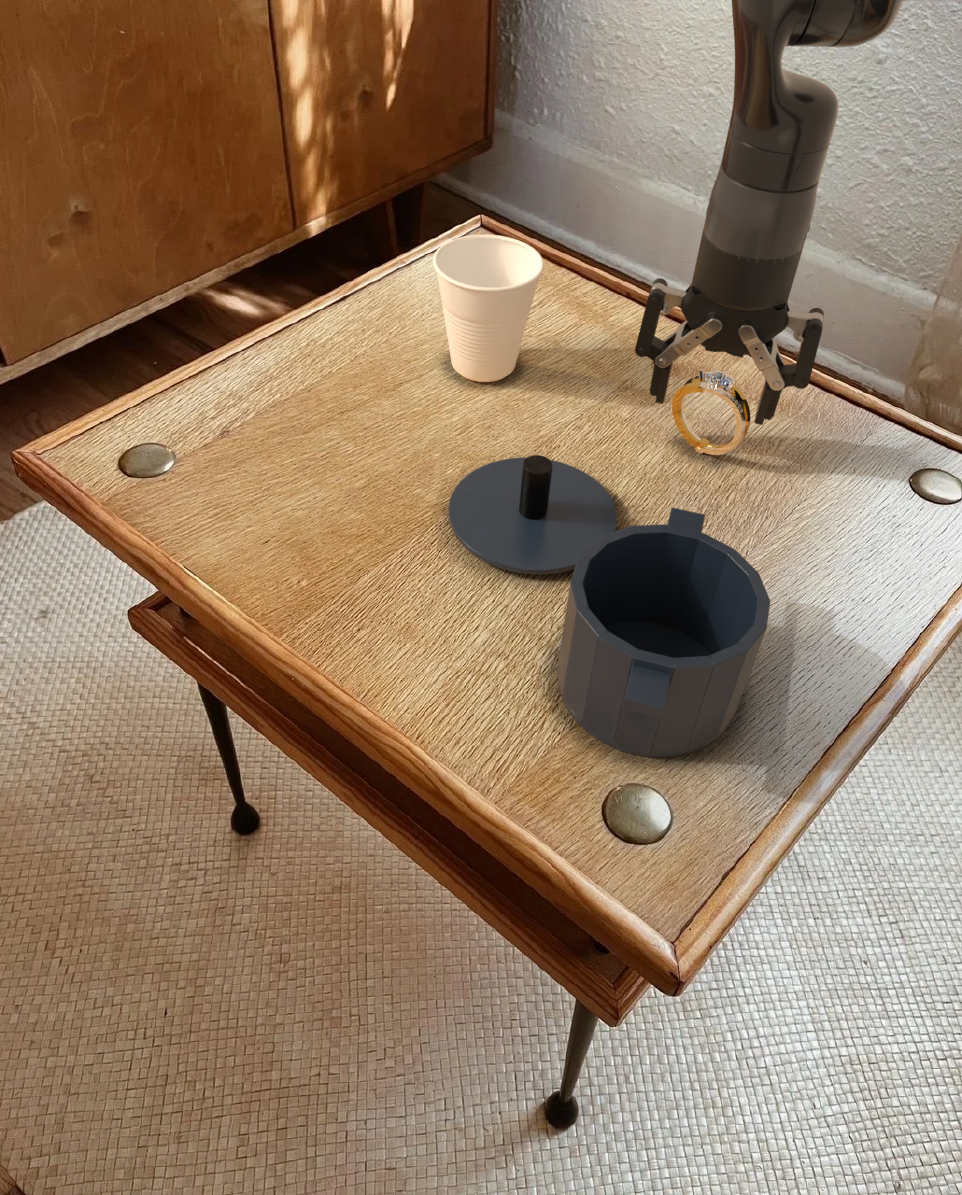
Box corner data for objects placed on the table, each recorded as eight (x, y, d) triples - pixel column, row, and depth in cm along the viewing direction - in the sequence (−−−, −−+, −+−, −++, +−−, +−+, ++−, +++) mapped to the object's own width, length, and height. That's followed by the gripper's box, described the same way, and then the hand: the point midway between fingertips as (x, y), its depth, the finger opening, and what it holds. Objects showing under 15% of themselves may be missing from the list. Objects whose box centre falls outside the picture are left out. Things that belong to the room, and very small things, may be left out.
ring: (659, 439, 92) (675, 364, 86) (680, 425, 94) (697, 350, 88) (722, 476, 89) (743, 400, 83) (743, 461, 91) (765, 385, 85)
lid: (629, 487, 88) (640, 431, 83) (596, 597, 78) (606, 541, 74) (475, 453, 90) (478, 397, 86) (426, 557, 81) (426, 499, 76)
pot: (749, 615, 78) (781, 523, 71) (719, 812, 66) (754, 723, 59) (586, 577, 80) (602, 483, 73) (529, 761, 68) (541, 669, 61)
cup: (551, 385, 97) (562, 279, 89) (453, 404, 95) (456, 297, 87) (510, 330, 104) (518, 227, 96) (417, 347, 101) (417, 242, 93)
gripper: (652, 236, 75) (620, 417, 87) (849, 272, 73) (789, 452, 85) (668, 193, 80) (636, 369, 92) (853, 225, 78) (796, 401, 90)
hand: (709, 408), depth 88 cm, fingers open, 8 cm apart
